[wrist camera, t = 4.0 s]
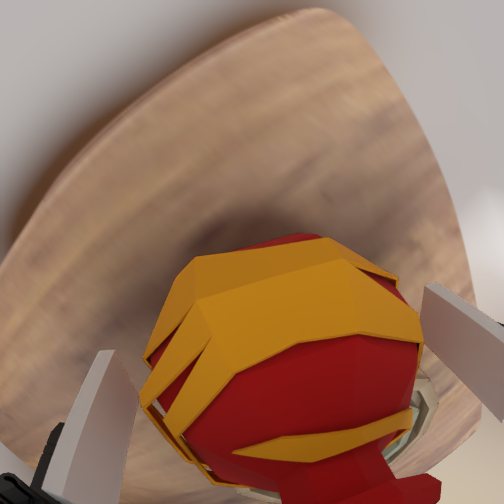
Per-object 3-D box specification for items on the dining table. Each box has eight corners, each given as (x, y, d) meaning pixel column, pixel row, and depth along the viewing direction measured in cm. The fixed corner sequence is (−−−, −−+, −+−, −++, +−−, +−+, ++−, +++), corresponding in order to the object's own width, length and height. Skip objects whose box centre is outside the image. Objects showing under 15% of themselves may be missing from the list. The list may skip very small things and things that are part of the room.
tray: (247, 495, 24) (250, 513, 21) (201, 394, 18) (201, 423, 15) (400, 448, 25) (409, 462, 23) (440, 326, 19) (460, 342, 17)
